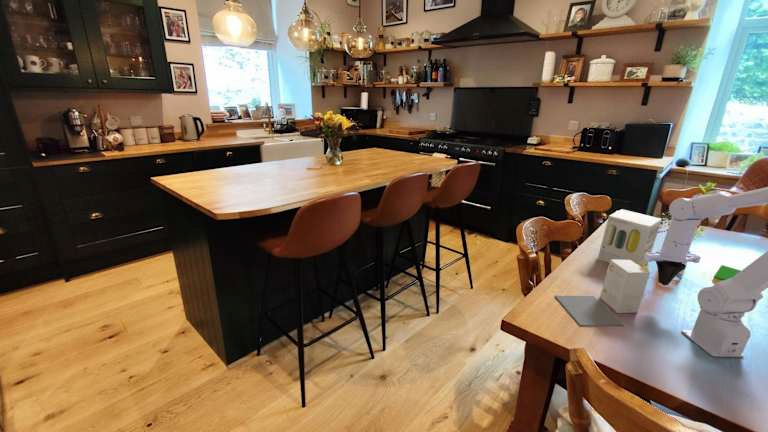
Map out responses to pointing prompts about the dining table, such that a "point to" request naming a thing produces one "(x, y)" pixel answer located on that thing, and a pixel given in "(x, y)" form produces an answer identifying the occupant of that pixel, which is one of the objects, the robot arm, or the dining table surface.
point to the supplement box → (629, 236)
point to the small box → (624, 286)
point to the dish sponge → (725, 273)
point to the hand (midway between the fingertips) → (662, 283)
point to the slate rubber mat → (588, 311)
